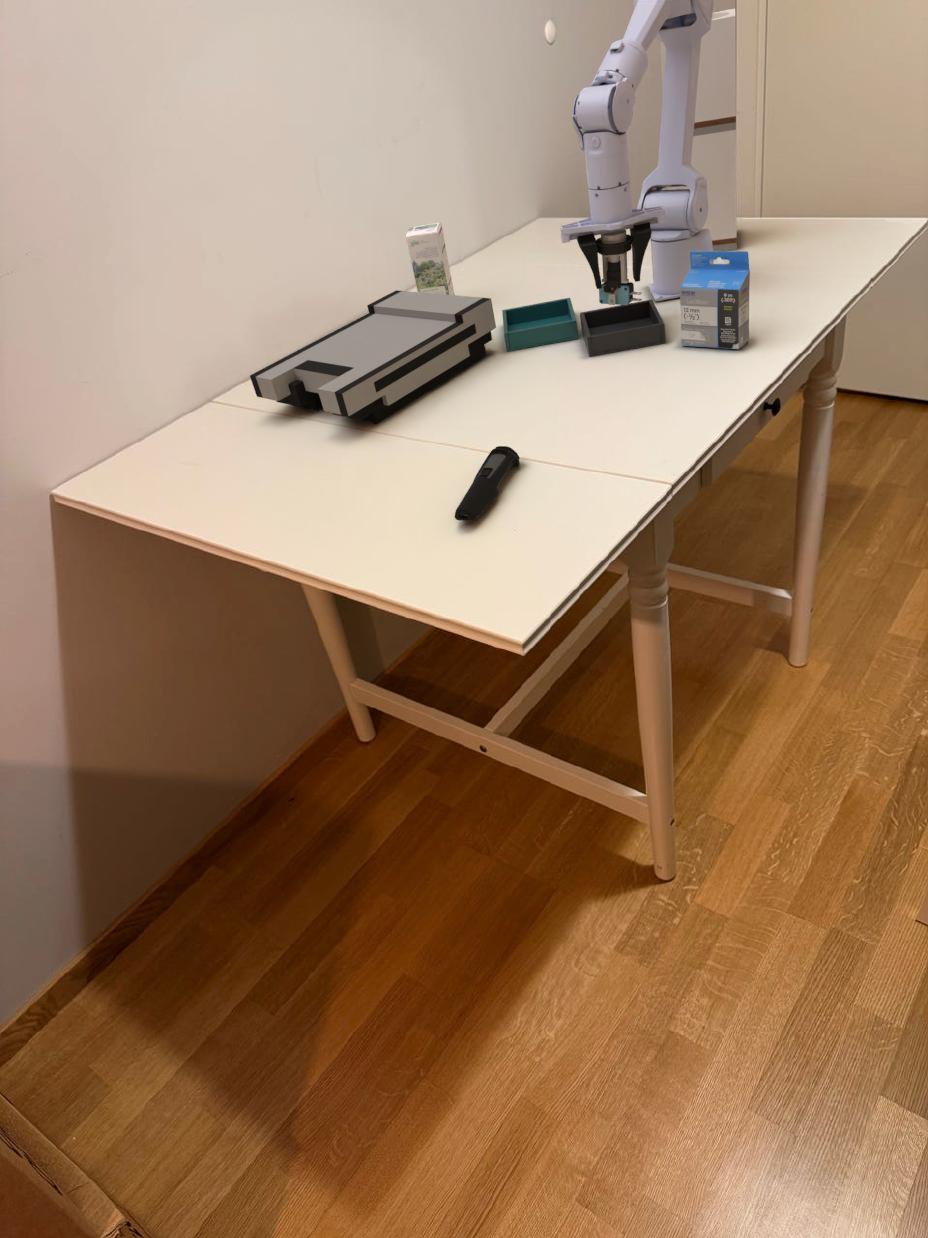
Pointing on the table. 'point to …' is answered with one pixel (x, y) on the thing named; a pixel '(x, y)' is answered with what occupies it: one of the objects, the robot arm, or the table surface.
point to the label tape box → (716, 300)
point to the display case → (716, 128)
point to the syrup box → (429, 259)
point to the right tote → (622, 327)
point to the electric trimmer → (486, 483)
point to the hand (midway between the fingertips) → (617, 283)
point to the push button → (615, 269)
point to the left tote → (539, 324)
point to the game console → (383, 356)
